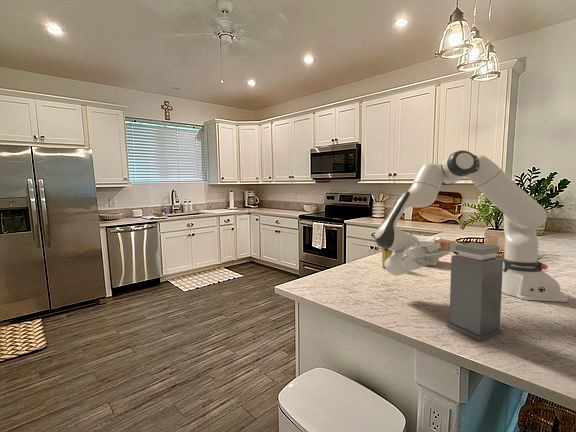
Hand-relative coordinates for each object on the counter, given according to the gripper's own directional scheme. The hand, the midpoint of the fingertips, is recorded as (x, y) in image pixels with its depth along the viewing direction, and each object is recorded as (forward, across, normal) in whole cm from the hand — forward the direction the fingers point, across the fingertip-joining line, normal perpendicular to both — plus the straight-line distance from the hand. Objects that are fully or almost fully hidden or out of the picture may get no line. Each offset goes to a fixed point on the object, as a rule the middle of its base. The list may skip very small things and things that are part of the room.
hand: (446, 243), depth 104 cm
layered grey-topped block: (-6, 0, +22) cm, 23 cm away
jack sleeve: (-4, 0, +28) cm, 29 cm away
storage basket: (-63, +52, -5) cm, 82 cm away
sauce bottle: (-62, +28, -5) cm, 68 cm away
